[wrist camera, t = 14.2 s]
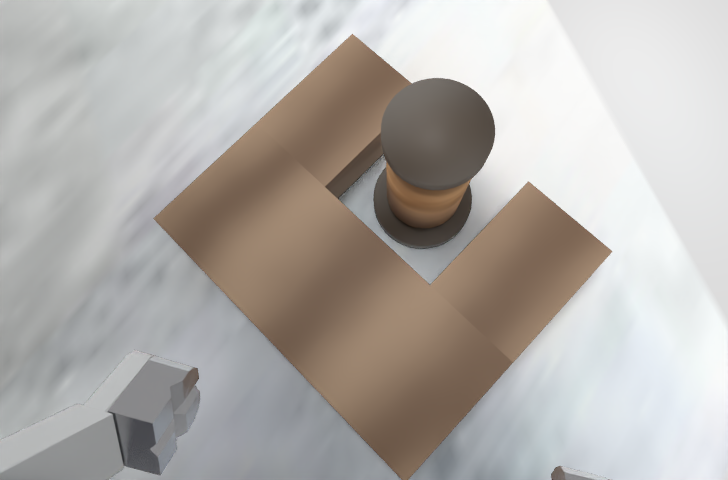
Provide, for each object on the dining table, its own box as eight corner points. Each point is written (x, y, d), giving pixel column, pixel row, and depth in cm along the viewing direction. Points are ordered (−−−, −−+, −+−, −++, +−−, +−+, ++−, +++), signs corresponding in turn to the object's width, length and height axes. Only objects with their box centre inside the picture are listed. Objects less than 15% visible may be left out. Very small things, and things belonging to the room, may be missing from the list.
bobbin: (354, 203, 27) (338, 132, 18) (419, 139, 28) (433, 41, 19) (424, 268, 26) (442, 225, 17) (489, 200, 27) (538, 126, 18)
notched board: (178, 232, 27) (153, 218, 24) (356, 66, 29) (352, 33, 26) (403, 467, 24) (404, 482, 21) (586, 263, 26) (612, 251, 23)
